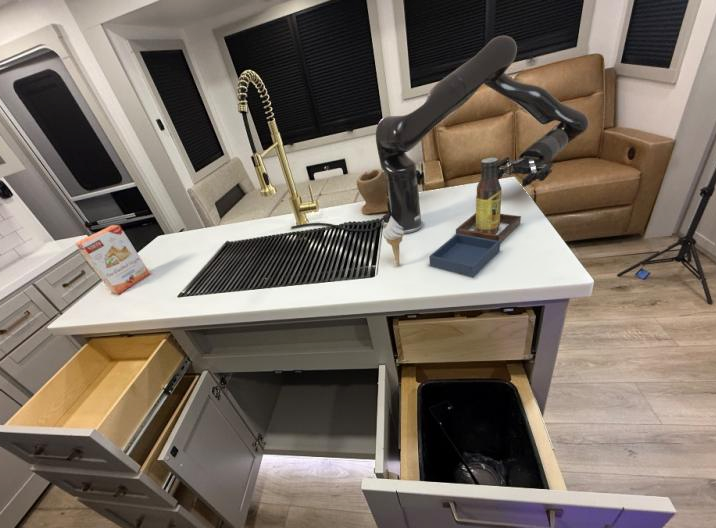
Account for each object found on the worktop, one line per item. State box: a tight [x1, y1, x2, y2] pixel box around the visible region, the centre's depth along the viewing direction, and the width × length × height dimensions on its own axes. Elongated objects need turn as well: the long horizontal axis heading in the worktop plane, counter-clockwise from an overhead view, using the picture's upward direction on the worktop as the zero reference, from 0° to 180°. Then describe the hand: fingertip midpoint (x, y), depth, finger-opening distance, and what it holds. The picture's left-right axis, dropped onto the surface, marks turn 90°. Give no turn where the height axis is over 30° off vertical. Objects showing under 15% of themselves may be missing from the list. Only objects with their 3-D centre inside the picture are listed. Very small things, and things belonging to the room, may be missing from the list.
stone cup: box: [356, 168, 389, 215], centre depth 123 cm, size 15×12×15 cm
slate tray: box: [428, 233, 501, 278], centre depth 88 cm, size 12×13×3 cm
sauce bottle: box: [475, 157, 502, 234], centre depth 92 cm, size 7×6×20 cm
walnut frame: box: [455, 212, 522, 244], centre depth 97 cm, size 13×13×2 cm
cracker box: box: [75, 224, 151, 295], centre depth 123 cm, size 14×6×21 cm, turn 148°
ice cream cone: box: [382, 216, 405, 267], centre depth 90 cm, size 6×6×15 cm
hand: (508, 181), depth 96 cm, fingers open, 8 cm apart
